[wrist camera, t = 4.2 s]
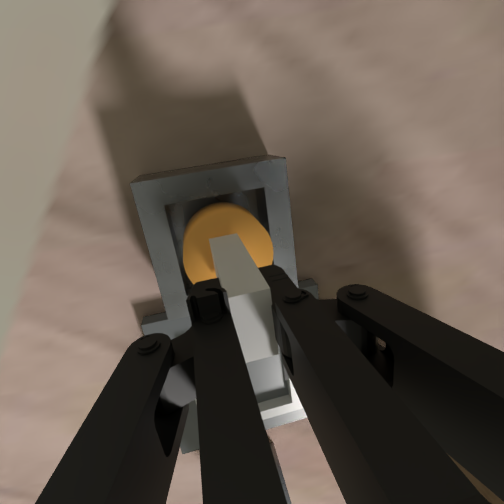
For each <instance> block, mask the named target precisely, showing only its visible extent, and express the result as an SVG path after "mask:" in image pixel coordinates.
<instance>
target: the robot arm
mask: <svg viewBox="0 0 504 504" xmlns="http://www.w3.org/2000/svg"><path fill="white" fill-rule="evenodd" d="M209 243H210V248H211V253H212V258H213V263H214V267H215V272H216V277H217V278H213V279H209V280H204V281H200V282H196V283H195V284H194V286H193V287H192V289H191V290H192V293H191V294H190V295H189V296H188V297H187V299H186V303H187V307H188V311H189V315H190V319H191V325H192V326H191V327H190V328H189V330H187V331H186V332H185V333H183V334H182V335H180V336H178V337H176V338H174V339H172V340H171V339H170V337H169V336H168V335H166V334H163V333H153V334H148V335H145V336H143V337H141V338H139V339H137V340H136V341H135V342H133V343H132V344H131V345H130V346H129V347H128V349H127V350H126V352H125V354H124V355H123V357H122V359H121V360H120V362H119V364H118V365H117V367H116V369H115V370H114V372H113V374H112V375H111V377H110V379H109V380H108V382H107V384H106V385H105V387H104V389H103V390H102V392H101V394H100V395H99V397H98V399H97V400H96V402H95V404H94V405H93V407H92V409H91V411H90V412H89V414H88V416H87V417H86V419H85V421H84V422H83V424H82V426H81V427H80V429H79V431H78V432H77V434H76V436H75V437H74V439H73V441H72V442H71V444H70V446H69V447H68V449H67V451H66V452H65V454H64V456H63V457H62V459H61V461H60V463H59V464H58V466H57V468H56V469H55V471H54V473H53V474H52V476H51V478H50V479H49V481H48V483H47V484H46V486H45V488H44V489H43V491H42V493H41V494H40V496H39V498H38V499H37V501H36V503H35V504H166V500H167V496H168V492H169V488H170V484H171V480H172V476H173V472H174V468H175V464H176V460H177V456H178V452H179V448H180V444H181V440H182V436H183V432H184V428H185V424H186V420H187V416H188V412H189V402H191V401H193V400H195V399H196V402H197V417H198V433H199V448H200V464H201V479H202V494H203V504H287V500H286V497H285V494H284V490H283V487H282V484H281V480H280V477H279V473H278V470H277V467H276V463H275V460H274V457H273V453H272V450H271V446H270V443H269V440H268V436H267V433H266V430H265V426H264V423H263V419H262V416H261V413H260V409H259V406H258V403H257V399H256V396H255V393H254V389H253V386H252V382H251V379H250V376H249V372H248V369H247V366H246V363H248V362H252V361H255V360H259V359H263V358H267V357H270V356H274V355H278V354H279V351H278V345H279V347H280V349H281V353H282V361H283V368H284V376H285V381H286V380H288V376H289V378H290V380H291V382H292V384H293V387H294V389H295V391H296V393H297V396H298V398H299V400H300V402H301V404H302V407H303V409H304V411H305V413H306V415H307V418H308V420H309V422H310V424H311V426H312V429H313V431H314V433H315V435H316V437H317V440H318V442H319V444H320V446H321V448H322V451H323V453H324V455H325V457H326V459H327V462H328V464H329V466H330V468H331V470H332V473H333V475H334V477H335V479H336V482H337V484H338V486H339V488H340V490H341V493H342V495H343V497H344V499H345V501H346V504H492V503H490V502H489V501H488V500H487V499H486V498H485V497H484V496H483V495H482V494H481V493H480V492H479V491H478V490H477V489H476V487H475V486H474V485H473V484H472V483H471V482H470V480H469V479H468V478H467V477H466V476H465V474H464V473H463V472H462V471H461V470H460V469H459V467H458V466H457V465H456V464H455V463H454V461H453V460H452V459H451V458H450V457H449V456H448V455H450V456H451V457H452V458H453V459H454V460H455V461H457V462H458V463H459V464H460V465H461V466H462V467H464V468H465V469H466V470H467V471H468V472H469V473H471V474H472V475H473V476H474V477H475V478H476V479H478V480H479V481H480V482H481V483H482V484H483V485H485V486H486V487H487V488H488V489H489V490H490V491H492V492H493V493H494V494H495V495H496V496H497V497H499V498H500V499H501V500H502V501H503V502H504V352H503V351H500V350H498V349H496V348H494V347H492V346H490V345H488V344H486V343H484V342H482V341H480V340H478V339H476V338H474V337H472V336H470V335H468V334H466V333H464V332H462V331H460V330H458V329H455V328H453V327H451V326H449V325H447V324H445V323H443V322H441V321H439V320H437V319H435V318H433V317H431V316H429V315H427V314H425V313H423V312H421V311H419V310H417V309H415V308H413V307H410V306H408V305H406V304H404V303H402V302H400V301H398V300H396V299H394V298H392V297H390V296H388V295H386V294H384V293H382V292H380V291H378V290H376V289H374V288H371V287H368V286H366V285H359V284H354V285H353V284H352V285H348V286H344V287H342V288H340V289H339V290H338V292H337V299H328V300H318V299H316V298H315V297H314V296H313V295H312V293H310V292H309V291H307V290H304V289H298V288H297V286H296V285H295V284H294V283H293V281H292V280H291V279H290V278H289V276H288V275H287V274H286V272H285V271H284V270H283V269H282V268H281V267H279V266H277V265H274V264H273V265H268V266H264V267H259V268H258V267H257V266H256V264H255V262H254V261H253V259H252V257H251V256H250V254H249V252H248V251H247V249H246V247H245V246H244V244H243V242H242V241H241V239H240V238H239V236H238V234H237V233H235V234H230V235H225V236H220V237H215V238H210V239H209ZM378 338H380V339H381V340H383V341H384V342H385V343H386V348H384V347H382V346H381V345H379V344H378ZM277 343H278V344H277Z"/></svg>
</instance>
